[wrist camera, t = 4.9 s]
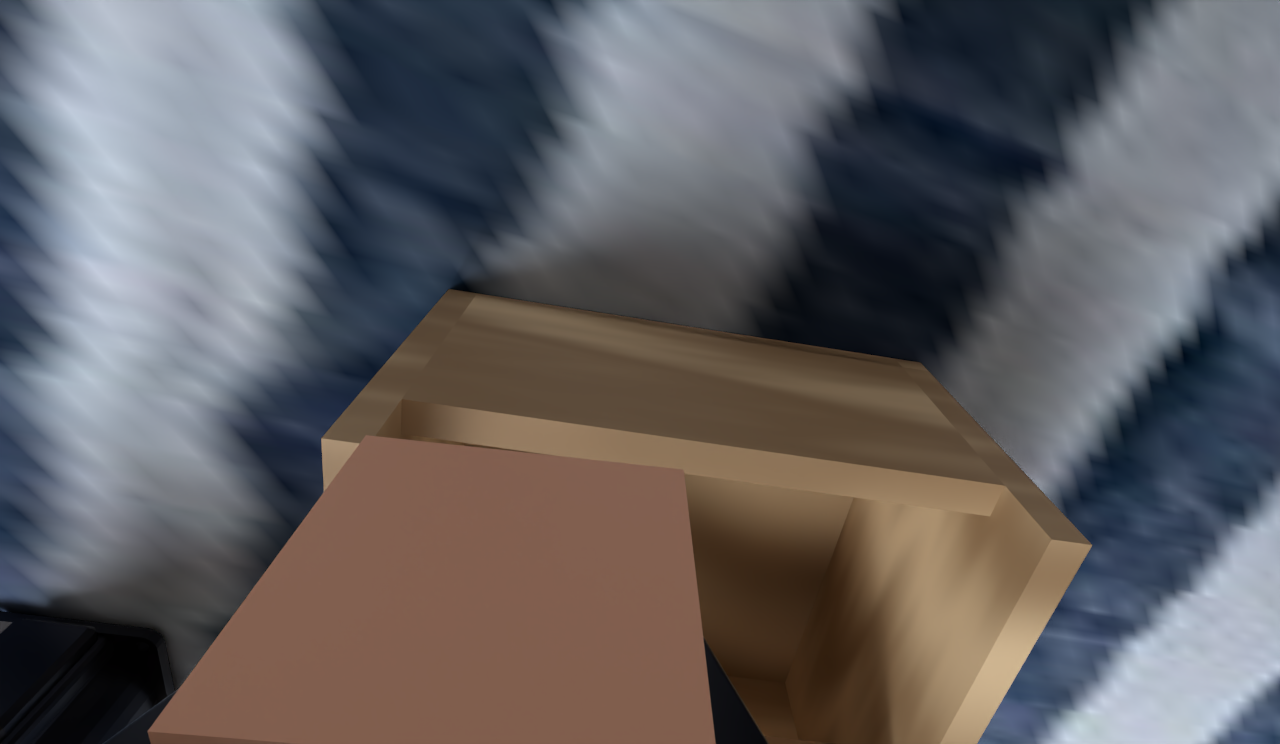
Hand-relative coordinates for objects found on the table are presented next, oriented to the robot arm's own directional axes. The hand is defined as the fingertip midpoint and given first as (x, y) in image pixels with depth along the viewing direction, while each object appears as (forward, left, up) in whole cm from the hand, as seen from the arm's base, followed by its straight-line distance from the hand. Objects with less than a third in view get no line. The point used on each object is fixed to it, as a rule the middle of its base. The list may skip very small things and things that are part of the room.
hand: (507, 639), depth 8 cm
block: (0, 0, -1) cm, 1 cm away
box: (-7, -3, -12) cm, 14 cm away
